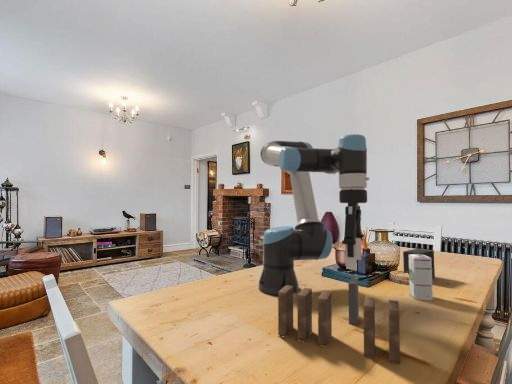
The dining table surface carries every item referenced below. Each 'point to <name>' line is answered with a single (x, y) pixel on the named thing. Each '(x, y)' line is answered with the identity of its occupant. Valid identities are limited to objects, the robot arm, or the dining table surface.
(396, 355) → the domino
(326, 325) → the domino
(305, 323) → the domino
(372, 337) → the domino
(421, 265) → the syrup box
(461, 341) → the dining table surface
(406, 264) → the small box
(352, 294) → the domino
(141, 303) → the dining table surface
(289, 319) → the domino
